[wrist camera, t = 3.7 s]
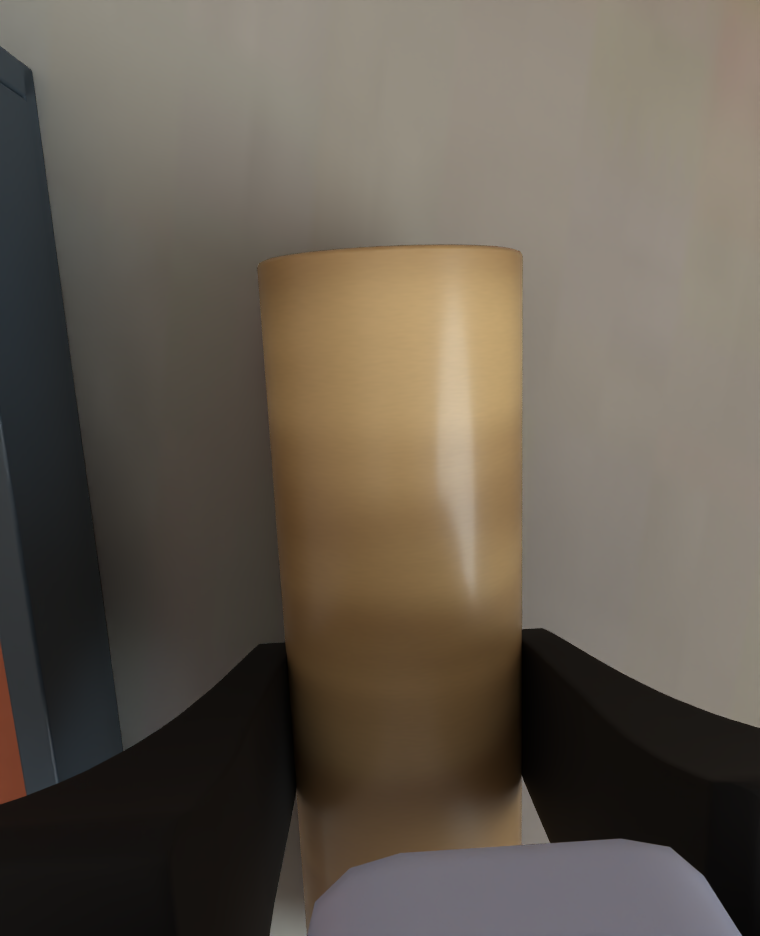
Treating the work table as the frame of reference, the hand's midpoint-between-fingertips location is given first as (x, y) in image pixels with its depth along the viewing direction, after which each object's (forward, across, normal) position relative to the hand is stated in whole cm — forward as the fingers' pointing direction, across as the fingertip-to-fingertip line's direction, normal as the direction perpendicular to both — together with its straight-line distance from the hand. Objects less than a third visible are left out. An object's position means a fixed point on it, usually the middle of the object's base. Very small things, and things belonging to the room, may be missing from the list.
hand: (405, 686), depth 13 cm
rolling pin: (+2, 0, 0) cm, 2 cm away
